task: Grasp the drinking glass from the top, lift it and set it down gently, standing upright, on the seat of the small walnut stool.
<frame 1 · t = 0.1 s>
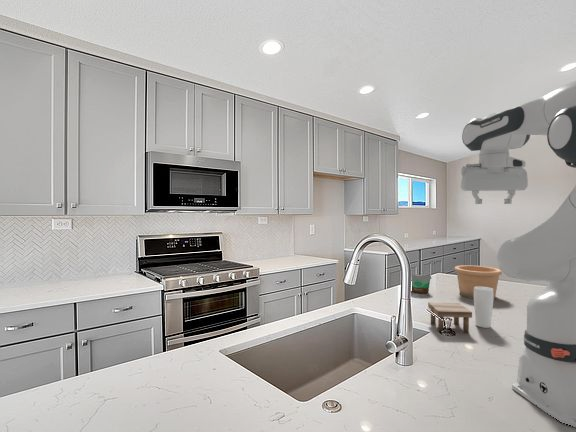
hand: (493, 204, 114), 48 cm above the countertop, tool pointing down, fingers open, 8 cm apart
pottery: (477, 295, 178), on the countertop
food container: (419, 293, 183), on the countertop
walnut stool: (448, 327, 130), on the countertop
drinking glass: (483, 326, 132), on the countertop
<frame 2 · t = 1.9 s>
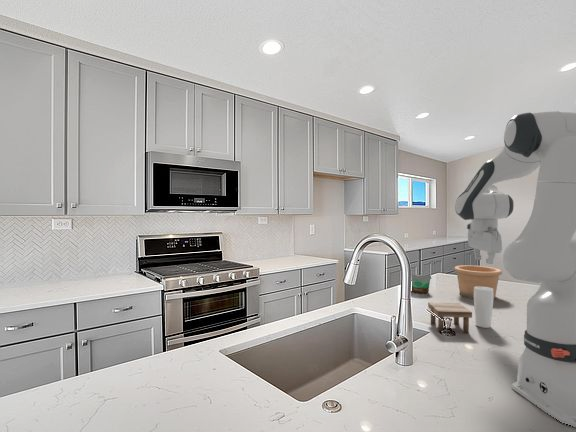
hand: (483, 261, 131), 26 cm above the countertop, tool pointing down, fingers open, 8 cm apart
nothing on the countertop moved.
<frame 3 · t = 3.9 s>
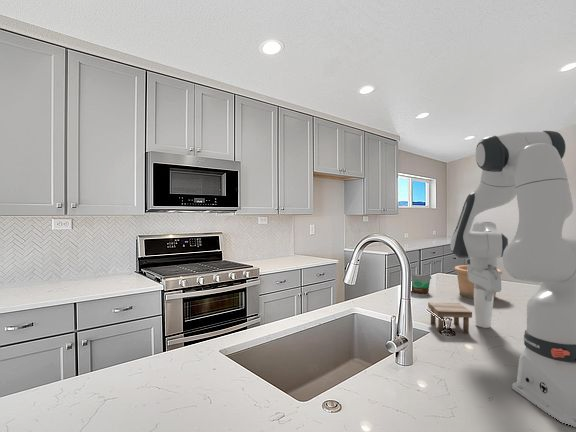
hand: (483, 298, 131), 11 cm above the countertop, tool pointing down, fingers closed on drinking glass, 7 cm apart
drinking glass: (483, 326, 132), on the countertop, touching gripper
everything else where it was.
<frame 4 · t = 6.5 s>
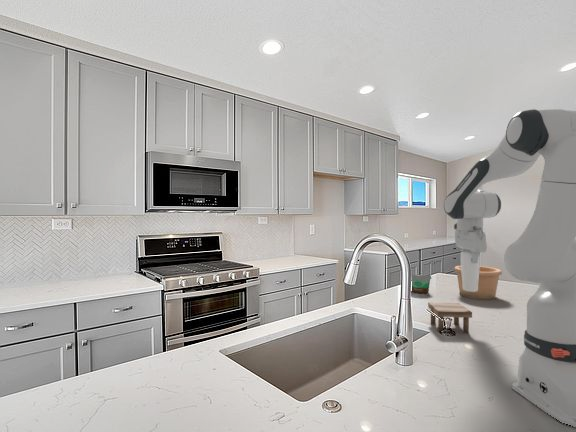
hand: (469, 261, 130), 26 cm above the countertop, tool pointing down, fingers closed on drinking glass, 7 cm apart
drinking glass: (470, 291, 130), point 14 cm above the countertop, touching gripper
everything else where it was.
when the fingers open (20 cm above the countertop, at t = 9.3 s): drinking glass moves 2 cm, resting on walnut stool.
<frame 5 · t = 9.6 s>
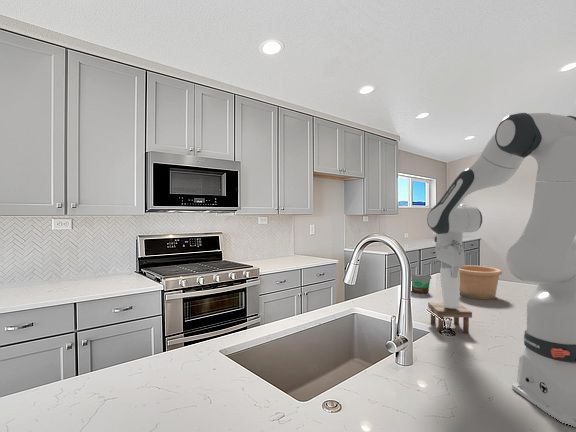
hand: (449, 275, 130), 21 cm above the countertop, tool pointing down, fingers open, 8 cm apart
drinking glass: (451, 308, 127), point 8 cm above the countertop, touching gripper, walnut stool
everything else where it was.
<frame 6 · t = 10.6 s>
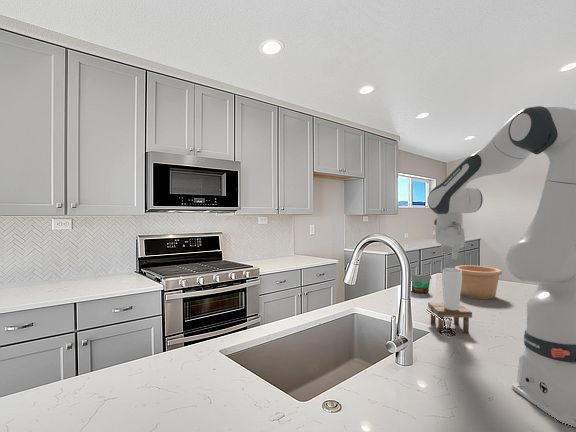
hand: (449, 257, 129), 27 cm above the countertop, tool pointing down, fingers open, 8 cm apart
drinking glass: (451, 309, 127), point 8 cm above the countertop, touching walnut stool
everything else where it was.
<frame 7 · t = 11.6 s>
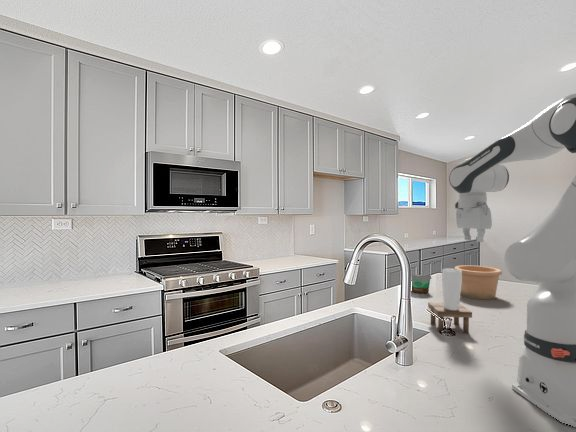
hand: (473, 241, 122), 35 cm above the countertop, tool pointing down, fingers open, 8 cm apart
nothing on the countertop moved.
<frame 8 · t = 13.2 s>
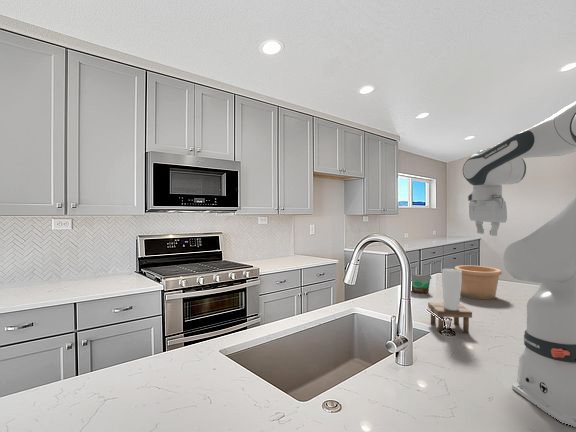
hand: (486, 234, 118), 37 cm above the countertop, tool pointing down, fingers open, 8 cm apart
nothing on the countertop moved.
at the end: drinking glass 2.8 cm off-centre on the walnut stool, point 7.8 cm above the walnut stool's base; drinking glass tilted 1°; the gripper is holding nothing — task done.
